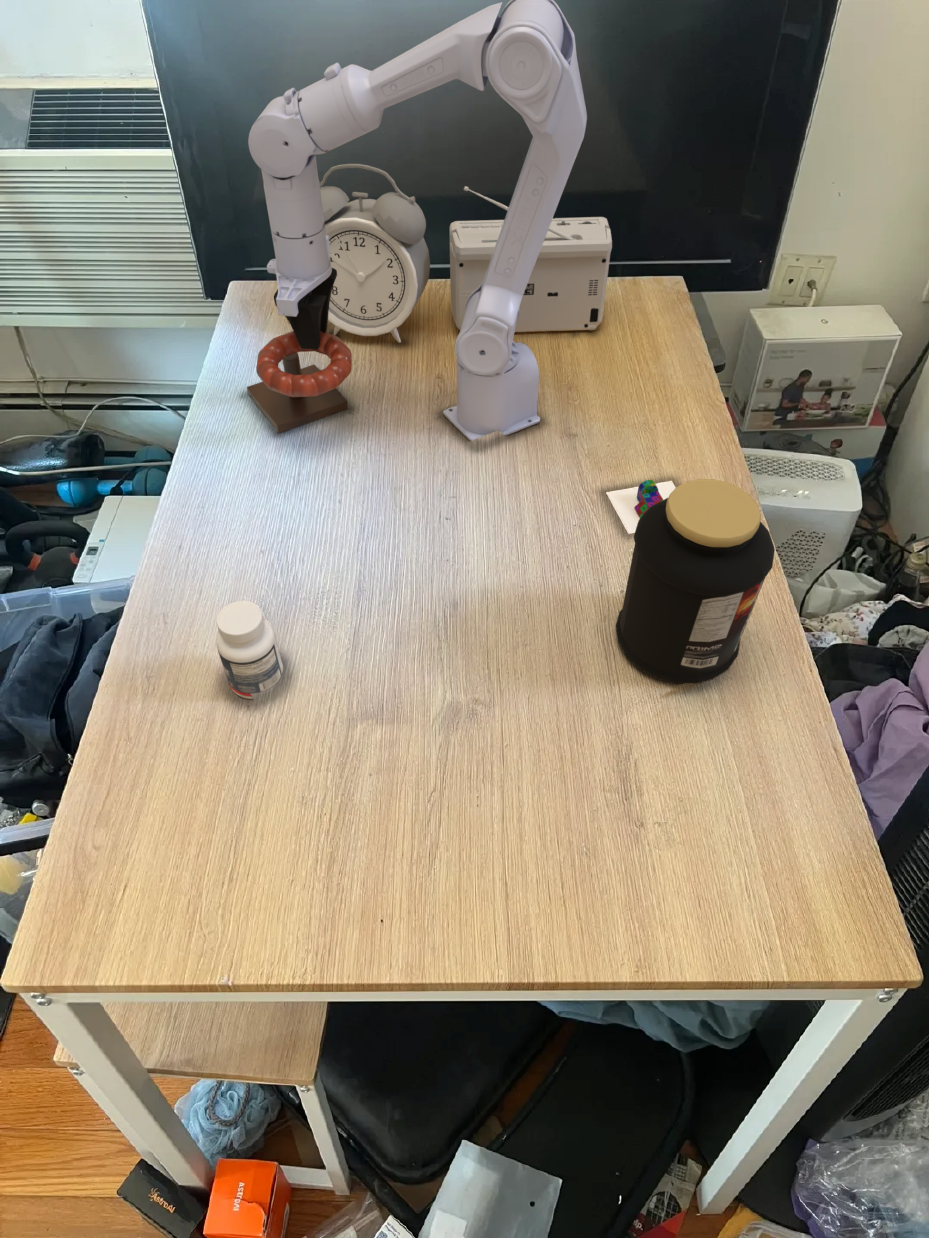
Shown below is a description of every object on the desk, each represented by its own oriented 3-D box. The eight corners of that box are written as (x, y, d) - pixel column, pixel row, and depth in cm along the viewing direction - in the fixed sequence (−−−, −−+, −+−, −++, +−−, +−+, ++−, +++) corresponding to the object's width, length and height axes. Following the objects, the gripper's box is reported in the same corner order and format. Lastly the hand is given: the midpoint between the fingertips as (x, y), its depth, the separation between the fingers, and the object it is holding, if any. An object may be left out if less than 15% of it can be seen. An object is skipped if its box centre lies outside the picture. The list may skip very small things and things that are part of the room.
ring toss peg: (315, 372, 119) (308, 326, 114) (348, 408, 114) (343, 362, 109) (248, 394, 116) (238, 348, 111) (278, 434, 111) (269, 387, 106)
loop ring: (324, 333, 110) (322, 315, 108) (369, 379, 105) (368, 362, 103) (243, 363, 106) (239, 345, 105) (285, 413, 101) (282, 395, 99)
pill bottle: (231, 658, 88) (211, 596, 81) (286, 654, 88) (271, 592, 81) (226, 702, 84) (205, 641, 78) (283, 699, 84) (267, 637, 78)
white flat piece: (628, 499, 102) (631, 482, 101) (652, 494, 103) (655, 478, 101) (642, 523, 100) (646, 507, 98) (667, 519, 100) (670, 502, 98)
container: (715, 594, 93) (757, 455, 79) (756, 688, 85) (811, 551, 72) (599, 607, 92) (622, 468, 78) (630, 703, 84) (661, 567, 70)
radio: (596, 304, 130) (613, 159, 115) (605, 335, 125) (624, 187, 110) (450, 308, 129) (448, 163, 114) (453, 340, 124) (450, 192, 109)
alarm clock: (305, 338, 125) (280, 174, 108) (325, 305, 130) (304, 144, 114) (422, 352, 122) (414, 186, 106) (437, 319, 128) (432, 156, 111)
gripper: (280, 193, 102) (297, 305, 112) (240, 256, 93) (262, 371, 103) (342, 198, 101) (353, 309, 112) (307, 262, 92) (323, 377, 102)
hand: (313, 340), depth 107 cm, fingers closed on loop ring, 3 cm apart
